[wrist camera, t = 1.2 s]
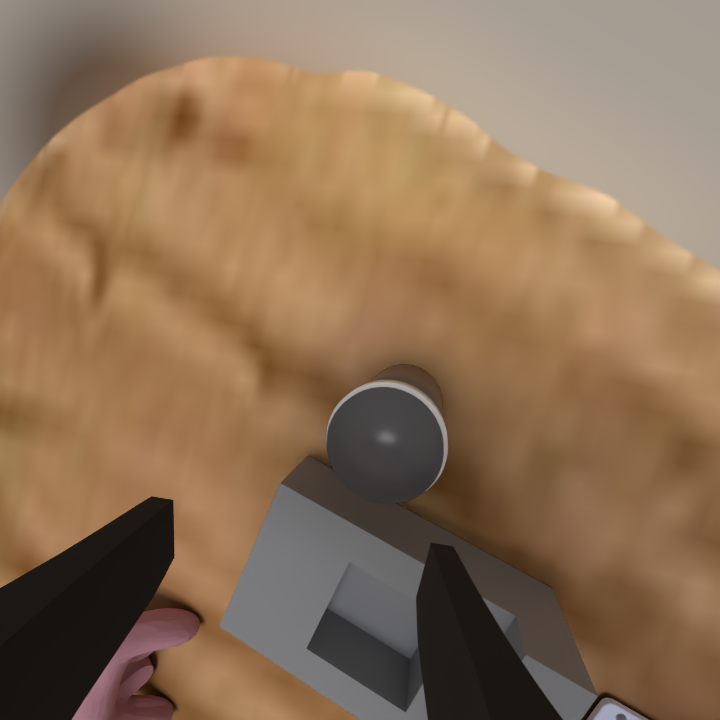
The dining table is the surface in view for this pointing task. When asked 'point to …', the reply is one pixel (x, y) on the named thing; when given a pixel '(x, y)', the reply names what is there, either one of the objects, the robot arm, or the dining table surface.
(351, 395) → the lens
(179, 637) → the pink rounded piece
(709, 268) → the dining table surface
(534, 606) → the camera body
